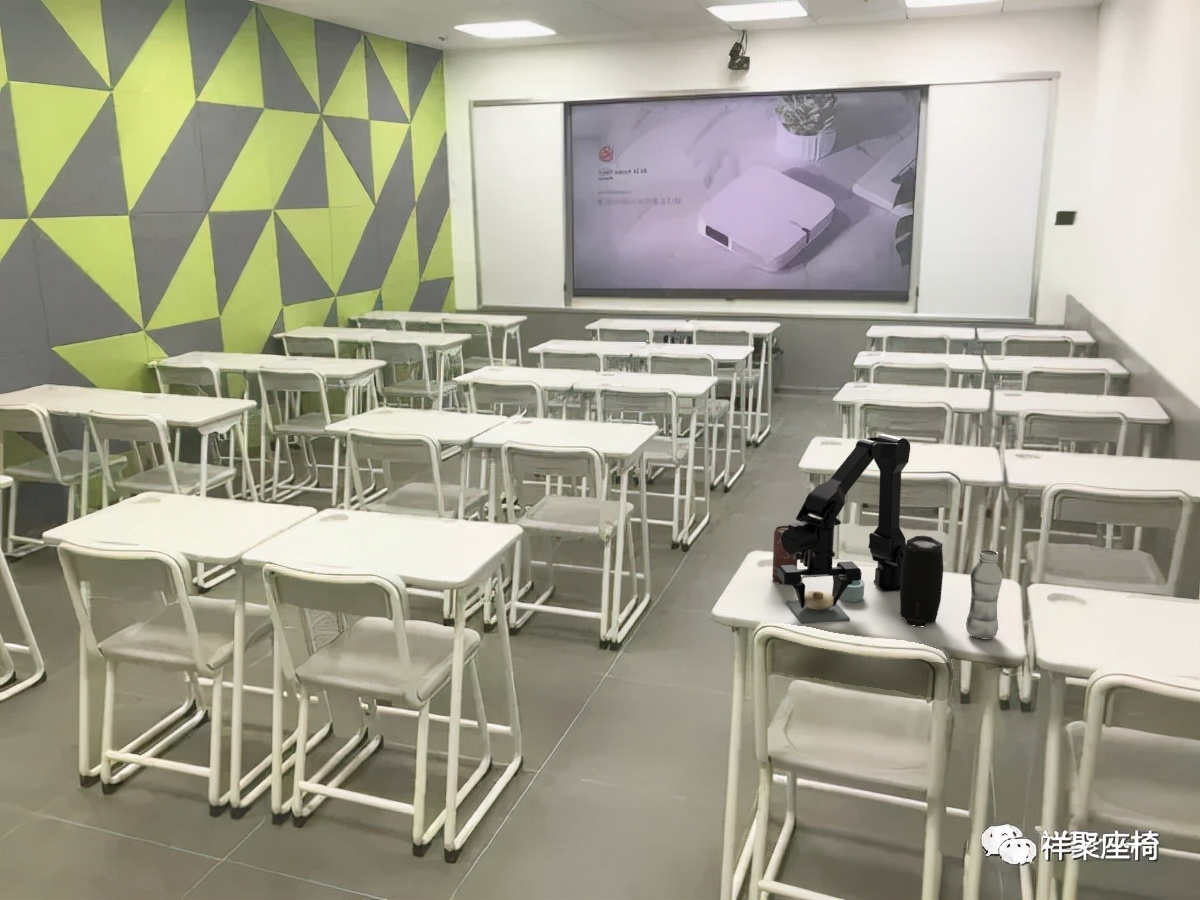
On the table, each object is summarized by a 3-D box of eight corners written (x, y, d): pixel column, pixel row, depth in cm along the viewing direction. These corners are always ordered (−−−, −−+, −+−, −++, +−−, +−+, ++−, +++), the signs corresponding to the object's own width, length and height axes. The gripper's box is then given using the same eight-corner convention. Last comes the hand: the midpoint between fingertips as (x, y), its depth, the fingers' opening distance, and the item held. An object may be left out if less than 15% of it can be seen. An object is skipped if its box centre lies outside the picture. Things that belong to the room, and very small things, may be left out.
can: (799, 584, 241) (801, 532, 237) (774, 584, 241) (776, 532, 237) (795, 575, 247) (797, 524, 243) (770, 575, 247) (772, 524, 243)
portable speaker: (909, 609, 226) (915, 531, 221) (946, 621, 219) (953, 541, 214) (890, 619, 220) (896, 540, 215) (927, 632, 213) (934, 551, 208)
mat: (831, 600, 231) (832, 598, 231) (849, 620, 220) (850, 618, 220) (785, 603, 230) (786, 601, 229) (801, 623, 218) (801, 621, 218)
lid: (827, 596, 228) (827, 586, 227) (837, 608, 221) (838, 598, 220) (798, 598, 227) (798, 589, 227) (808, 610, 220) (808, 601, 220)
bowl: (857, 591, 236) (858, 576, 235) (867, 601, 230) (868, 586, 229) (834, 593, 235) (834, 578, 234) (843, 603, 229) (844, 587, 228)
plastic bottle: (994, 645, 207) (1003, 560, 202) (961, 638, 210) (969, 554, 205) (999, 634, 212) (1008, 550, 207) (967, 627, 215) (975, 545, 210)
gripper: (846, 531, 229) (842, 590, 233) (771, 535, 227) (769, 595, 231) (864, 547, 218) (860, 609, 222) (786, 551, 216) (783, 614, 220)
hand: (817, 606), depth 224 cm, fingers open, 7 cm apart
